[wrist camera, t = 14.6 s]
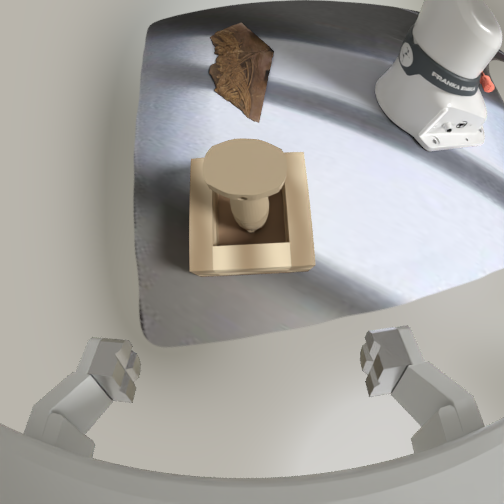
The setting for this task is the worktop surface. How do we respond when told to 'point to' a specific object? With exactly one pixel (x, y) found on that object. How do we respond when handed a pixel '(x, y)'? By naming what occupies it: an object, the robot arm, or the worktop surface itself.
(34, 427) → the robot arm
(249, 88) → the wooden fragment
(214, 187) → the handle
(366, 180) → the worktop surface
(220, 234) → the socket block
